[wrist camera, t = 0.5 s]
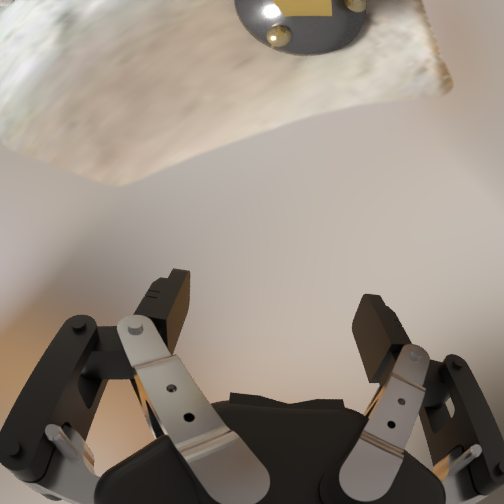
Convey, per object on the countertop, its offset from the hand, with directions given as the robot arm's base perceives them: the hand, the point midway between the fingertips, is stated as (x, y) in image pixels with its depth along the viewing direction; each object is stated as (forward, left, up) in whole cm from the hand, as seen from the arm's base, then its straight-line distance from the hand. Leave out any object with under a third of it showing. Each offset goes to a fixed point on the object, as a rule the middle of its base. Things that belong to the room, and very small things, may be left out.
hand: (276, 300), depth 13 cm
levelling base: (-11, +19, -25) cm, 33 cm away
